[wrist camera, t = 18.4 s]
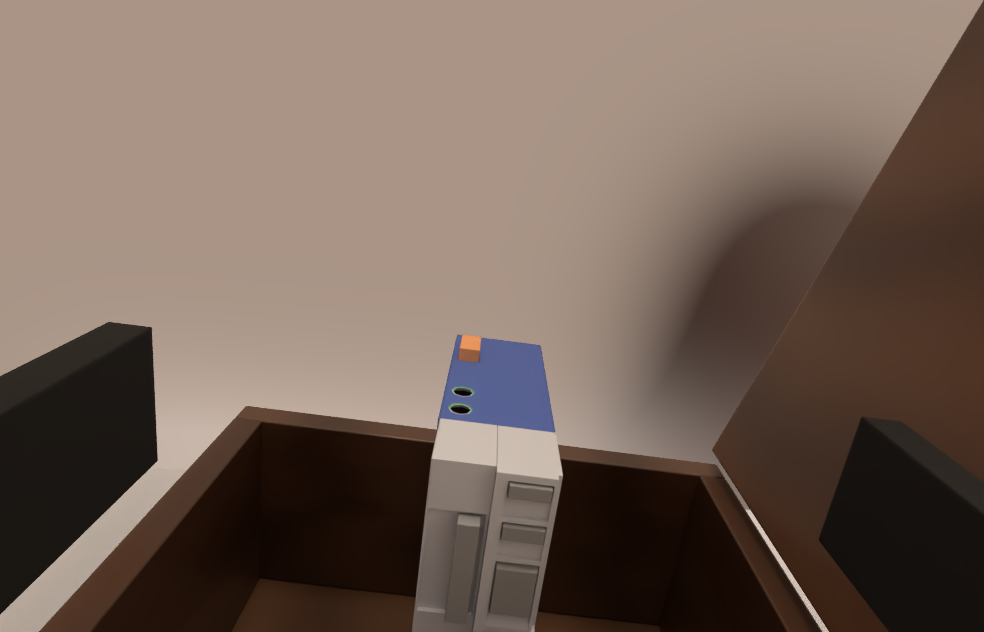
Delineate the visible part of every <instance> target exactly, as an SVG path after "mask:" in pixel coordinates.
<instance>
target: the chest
mask: <svg viewBox="0 0 984 632" xmlns="http://www.w3.org/2000/svg"><path fill="white" fill-rule="evenodd" d="M436 434H437V430H434V429H427V428H419V427H410V426H403V425H394V424H386V423H378V422H371V421H363V420H355V419H347V418H339V417H331V416H322V415H314V414H306V413H298V412H291V411H283V410H275V409H267V408H259V407H251V406H246V407H245V408H244V409H243V410H242V411H241V412H240V414H238V416H237V417H236V418H235V419H234V420H233V421H232V422H231V423H230V424H229V425H228V426H227V427H226V428H225V430H224V431H223V432H222V433H221V434H220V435H219V436H218V437H217V438H216V440H215V441H213V443H212V444H211V445H210V446H209V447H208V448H207V449H206V450H205V451H204V452H203V453H202V455H201V456H200V457H199V458H198V459H197V460H196V461H195V462H194V463H193V464H192V466H191V467H190V468H189V469H188V470H187V471H186V472H185V473H184V474H183V475H182V476H181V477H180V479H179V480H178V481H177V482H176V483H175V484H174V485H173V486H172V487H171V488H170V489H169V491H168V492H167V493H166V494H165V495H164V496H163V497H162V498H161V499H160V500H159V501H158V503H157V504H156V505H155V506H154V507H153V508H152V509H151V510H150V511H149V512H148V513H147V515H146V516H145V517H144V518H143V519H142V520H141V521H140V522H139V523H138V524H137V525H136V527H135V528H134V529H133V530H132V531H131V532H130V533H129V534H128V535H127V536H126V537H125V539H124V540H123V541H122V542H121V543H120V544H119V545H118V546H117V547H116V548H115V549H114V551H113V552H112V553H111V554H110V555H109V556H108V557H107V558H106V559H105V560H104V561H103V563H102V564H101V565H100V566H99V567H98V568H97V569H96V570H95V571H94V572H93V573H92V574H91V576H90V577H89V578H88V579H87V580H86V581H85V582H84V583H83V584H82V585H81V586H80V588H79V589H78V590H77V591H76V592H75V593H74V594H73V595H72V596H71V597H70V598H69V600H68V601H67V602H66V603H65V604H64V605H63V606H62V607H61V608H60V609H59V610H58V612H57V613H56V614H55V615H54V616H53V617H52V618H51V619H50V620H49V621H48V622H47V624H46V625H45V626H44V627H43V628H42V629H41V630H40V631H39V632H412V625H413V617H414V608H415V599H416V590H417V581H418V572H419V563H420V554H421V545H422V536H423V528H424V519H425V510H426V501H427V492H428V483H429V474H430V465H431V458H432V453H433V448H434V444H435V439H436ZM558 449H559V455H560V461H561V467H562V473H563V479H562V484H561V490H560V495H559V500H558V505H557V511H556V516H555V521H554V526H553V532H552V537H551V542H550V548H549V553H548V558H547V563H546V569H545V574H544V579H543V584H542V590H541V595H540V600H539V605H538V611H537V616H536V621H535V632H822V631H821V629H820V628H819V626H818V624H817V623H816V621H815V620H814V618H813V616H812V615H811V613H810V612H809V610H808V609H807V607H806V605H805V604H804V602H803V601H802V599H801V597H800V596H799V594H798V593H797V591H796V590H795V588H794V586H793V585H792V583H791V582H790V580H789V578H788V577H787V575H786V574H785V572H784V571H783V569H782V567H781V566H780V564H779V563H778V561H777V559H776V558H775V556H774V555H773V553H772V552H771V550H770V548H769V547H768V545H767V544H766V542H765V540H764V539H763V537H762V536H761V534H760V533H759V531H758V529H757V528H756V526H755V525H754V523H753V522H752V520H751V518H750V517H749V515H748V514H747V512H746V510H745V509H744V507H743V506H742V504H741V503H740V501H739V500H738V498H737V496H736V495H735V493H734V491H733V490H732V488H731V487H730V485H729V484H728V482H727V481H726V480H725V477H724V476H723V474H722V473H721V471H720V469H719V468H718V467H717V465H715V464H707V463H698V462H690V461H683V460H675V459H674V460H673V459H666V458H659V457H651V456H650V457H649V456H643V455H635V454H627V453H619V452H611V451H603V450H595V449H587V448H579V447H570V446H562V445H558Z"/></svg>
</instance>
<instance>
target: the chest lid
mask: <svg viewBox="0 0 984 632" xmlns="http://www.w3.org/2000/svg"><path fill="white" fill-rule="evenodd" d="M861 417H870V418H878V419H886V420H894V421H902V422H903V423H904V424H906V425H907V426H908V427H910V428H911V429H913V430H914V431H915V432H917V433H918V434H919V435H921V436H922V437H923V438H925V439H926V440H927V441H929V442H930V443H932V444H933V445H934V446H936V447H937V448H938V449H940V450H941V451H942V452H944V453H945V454H947V455H948V456H949V457H951V458H952V459H953V460H955V461H956V462H957V463H959V464H960V465H961V466H963V467H964V468H966V469H967V470H968V471H970V472H971V473H972V474H974V475H975V476H976V477H978V478H979V479H980V480H982V481H983V482H984V0H983V2H982V4H981V6H980V7H979V9H978V10H977V12H976V14H975V15H974V17H973V19H972V20H971V22H970V24H969V25H968V27H967V29H966V30H965V32H964V34H963V35H962V37H961V39H960V40H959V42H958V44H957V45H956V47H955V48H954V50H953V52H952V54H951V55H950V57H949V59H948V60H947V62H946V63H945V65H944V67H943V69H942V70H941V72H940V73H939V75H938V77H937V79H936V80H935V82H934V83H933V85H932V87H931V88H930V90H929V92H928V93H927V95H926V96H925V98H924V100H923V102H922V103H921V105H920V106H919V108H918V110H917V111H916V113H915V115H914V116H913V118H912V120H911V122H910V123H909V125H908V126H907V128H906V130H905V131H904V133H903V135H902V136H901V138H900V139H899V141H898V143H897V144H896V146H895V148H894V149H893V151H892V153H891V154H890V156H889V158H888V160H887V161H886V163H885V164H884V166H883V168H882V169H881V171H880V173H879V174H878V176H877V178H876V179H875V181H874V182H873V184H872V186H871V187H870V189H869V191H868V192H867V194H866V196H865V197H864V199H863V201H862V203H861V204H860V206H859V207H858V209H857V211H856V212H855V214H854V216H853V217H852V219H851V221H850V222H849V224H848V226H847V227H846V229H845V231H844V232H843V234H842V236H841V237H840V239H839V240H838V242H837V244H836V245H835V247H834V249H833V251H832V252H831V254H830V255H829V257H828V259H827V260H826V262H825V264H824V265H823V267H822V269H821V270H820V272H819V274H818V275H817V277H816V278H815V280H814V282H813V283H812V285H811V287H810V288H809V290H808V292H807V293H806V295H805V297H804V298H803V300H802V302H801V304H800V305H799V307H798V308H797V310H796V312H795V313H794V315H793V317H792V318H791V320H790V321H789V323H788V325H787V327H786V328H785V330H784V331H783V333H782V335H781V336H780V338H779V340H778V341H777V343H776V345H775V347H774V348H773V350H772V351H771V353H770V355H769V356H768V358H767V360H766V361H765V363H764V364H763V366H762V368H761V369H760V371H759V373H758V374H757V376H756V378H755V379H754V381H753V383H752V384H751V386H750V388H749V389H748V391H747V393H746V394H745V396H744V398H743V400H742V401H741V403H740V404H739V406H738V408H737V409H736V411H735V413H734V414H733V416H732V418H731V419H730V421H729V422H728V424H727V426H726V428H725V429H724V431H723V432H722V434H721V436H720V437H719V439H718V441H717V442H716V444H715V446H714V447H713V450H712V451H713V452H714V454H715V456H716V457H717V458H718V460H719V462H720V463H721V465H722V466H723V468H724V469H725V471H726V472H727V474H728V476H729V477H730V479H731V480H732V482H733V483H734V485H735V486H736V488H737V489H738V491H739V492H740V494H741V496H742V497H743V499H744V500H745V502H746V503H747V505H748V507H749V508H750V510H751V511H752V513H753V514H754V516H755V517H756V519H757V521H758V522H759V524H760V525H761V527H762V528H763V530H764V531H765V533H766V535H767V536H768V538H769V539H770V541H771V542H772V544H773V545H774V547H775V548H776V550H777V552H778V553H779V555H780V556H781V558H782V559H783V561H784V562H785V564H786V565H787V567H788V569H789V570H790V572H791V573H792V575H793V576H794V578H795V579H796V581H797V583H798V584H799V586H800V587H801V589H802V590H803V592H804V593H805V595H806V596H807V598H808V600H809V601H810V603H811V604H812V606H813V607H814V609H815V610H816V612H817V613H818V615H819V617H820V618H821V620H822V621H823V623H824V624H825V626H826V627H827V629H828V631H829V632H889V631H888V630H887V629H886V627H885V626H884V625H883V623H882V622H881V621H880V620H879V618H878V617H877V616H876V614H875V613H874V612H873V610H872V609H871V608H870V607H869V605H868V604H867V603H866V601H865V600H864V599H863V597H862V596H861V595H860V594H859V592H858V591H857V590H856V588H855V587H854V586H853V584H852V583H851V582H850V581H849V579H848V578H847V577H846V575H845V574H844V573H843V571H842V570H841V569H840V567H839V566H838V565H837V564H836V562H835V561H834V560H833V558H832V557H831V556H830V554H829V553H828V552H827V551H826V549H825V548H824V547H823V545H822V544H821V543H820V541H819V540H818V539H819V536H820V533H821V530H822V528H823V525H824V522H825V519H826V516H827V513H828V511H829V508H830V505H831V502H832V499H833V496H834V493H835V491H836V488H837V485H838V482H839V479H840V476H841V474H842V471H843V468H844V465H845V462H846V459H847V456H848V454H849V451H850V448H851V445H852V442H853V439H854V437H855V434H856V431H857V428H858V425H859V422H860V419H861Z"/></svg>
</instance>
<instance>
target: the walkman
mask: <svg viewBox="0 0 984 632" xmlns="http://www.w3.org/2000/svg"><path fill="white" fill-rule="evenodd" d="M562 479H563V473H562V467H561V461H560V455H559V449H558V444H557V438H556V433H555V428H554V422H553V416H552V410H551V404H550V398H549V393H548V387H547V381H546V375H545V369H544V363H543V357H542V351H541V346H540V345H534V344H526V343H518V342H511V341H503V340H495V339H487V338H481V337H477V336H470V335H457V338H456V342H455V347H454V351H453V356H452V360H451V365H450V369H449V373H448V378H447V383H446V387H445V391H444V396H443V401H442V405H441V410H440V414H439V418H438V425H437V434H436V439H435V444H434V448H433V453H432V458H431V465H430V474H429V483H428V492H427V501H426V510H425V519H424V528H423V536H422V545H421V554H420V563H419V572H418V581H417V590H416V599H415V608H414V617H413V625H412V632H535V621H536V616H537V611H538V605H539V600H540V595H541V590H542V584H543V579H544V574H545V569H546V563H547V558H548V553H549V548H550V542H551V537H552V532H553V526H554V521H555V516H556V511H557V505H558V500H559V495H560V490H561V484H562Z"/></svg>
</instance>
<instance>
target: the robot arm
mask: <svg viewBox="0 0 984 632" xmlns="http://www.w3.org/2000/svg"><path fill="white" fill-rule="evenodd" d="M157 459H158V458H157V436H156V414H155V392H154V370H153V347H152V328H151V327H145V326H137V325H128V324H121V323H113V322H108V323H106V324H104V325H102V326H100V327H98V328H96V329H94V330H92V331H90V332H88V333H86V334H84V335H82V336H80V337H78V338H76V339H74V340H72V341H70V342H68V343H66V344H64V345H62V346H60V347H58V348H56V349H54V350H52V351H50V352H48V353H46V354H44V355H42V356H40V357H38V358H36V359H34V360H32V361H30V362H28V363H26V364H24V365H22V366H20V367H18V368H16V369H14V370H12V371H10V372H8V373H6V374H4V375H2V376H0V614H1V613H2V612H3V611H4V610H5V609H6V608H7V607H8V606H9V605H10V604H11V603H12V602H13V601H14V600H15V599H16V598H17V597H18V596H20V595H21V594H22V593H23V592H24V591H25V590H26V589H27V588H28V587H29V586H30V585H31V584H32V583H33V582H34V581H35V580H36V579H37V578H38V577H39V576H40V575H41V574H42V573H43V572H44V571H45V570H46V569H47V568H48V567H49V566H50V565H51V564H52V563H53V562H54V561H55V560H56V559H57V558H58V557H59V556H61V555H62V554H63V553H64V552H65V551H66V550H67V549H68V548H69V547H70V546H71V545H72V544H73V543H74V542H75V541H76V540H77V539H78V538H79V537H80V536H81V535H82V534H83V533H84V532H85V531H86V530H87V529H88V528H89V527H90V526H91V525H92V524H93V523H94V522H95V521H96V520H97V519H98V518H99V517H100V516H101V515H103V514H104V513H105V512H106V511H107V510H108V509H109V508H110V507H111V506H112V505H113V504H114V503H115V502H116V501H117V500H118V499H119V498H120V497H121V496H122V495H123V494H124V493H125V492H126V491H127V490H128V489H129V488H130V487H131V486H132V485H133V484H134V483H135V482H136V481H137V480H138V479H139V478H140V477H141V476H142V475H144V474H145V473H146V472H147V471H148V470H149V469H150V468H151V467H152V466H153V465H154V464H155V463H156V462H157ZM818 540H819V541H820V543H821V544H822V545H823V547H824V548H825V549H826V551H827V552H828V553H829V554H830V556H831V557H832V558H833V560H834V561H835V562H836V564H837V565H838V566H839V567H840V569H841V570H842V571H843V573H844V574H845V575H846V577H847V578H848V579H849V581H850V582H851V583H852V584H853V586H854V587H855V588H856V590H857V591H858V592H859V594H860V595H861V596H862V597H863V599H864V600H865V601H866V603H867V604H868V605H869V607H870V608H871V609H872V610H873V612H874V613H875V614H876V616H877V617H878V618H879V620H880V621H881V622H882V623H883V625H884V626H885V627H886V629H887V630H888V631H889V632H984V482H983V481H982V480H980V479H979V478H978V477H976V476H975V475H974V474H972V473H971V472H970V471H968V470H967V469H966V468H964V467H963V466H961V465H960V464H959V463H957V462H956V461H955V460H953V459H952V458H951V457H949V456H948V455H947V454H945V453H944V452H942V451H941V450H940V449H938V448H937V447H936V446H934V445H933V444H932V443H930V442H929V441H927V440H926V439H925V438H923V437H922V436H921V435H919V434H918V433H917V432H915V431H914V430H913V429H911V428H910V427H908V426H907V425H906V424H904V423H903V422H902V421H894V420H886V419H878V418H870V417H861V419H860V422H859V425H858V428H857V431H856V434H855V437H854V439H853V442H852V445H851V448H850V451H849V454H848V456H847V459H846V462H845V465H844V468H843V471H842V474H841V476H840V479H839V482H838V485H837V488H836V491H835V493H834V496H833V499H832V502H831V505H830V508H829V511H828V513H827V516H826V519H825V522H824V525H823V528H822V530H821V533H820V536H819V539H818Z"/></svg>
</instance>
